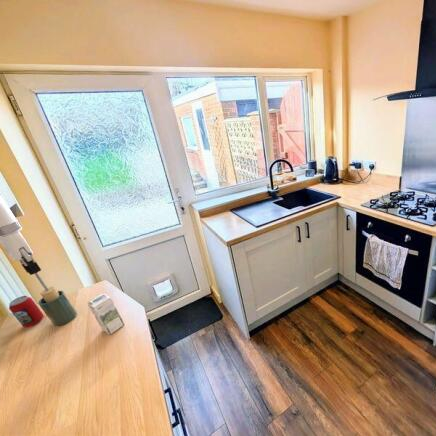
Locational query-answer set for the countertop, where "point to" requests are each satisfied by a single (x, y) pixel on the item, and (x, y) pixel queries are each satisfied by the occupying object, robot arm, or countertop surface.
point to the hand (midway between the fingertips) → (34, 271)
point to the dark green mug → (59, 310)
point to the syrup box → (106, 313)
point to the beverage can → (26, 311)
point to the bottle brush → (47, 291)
